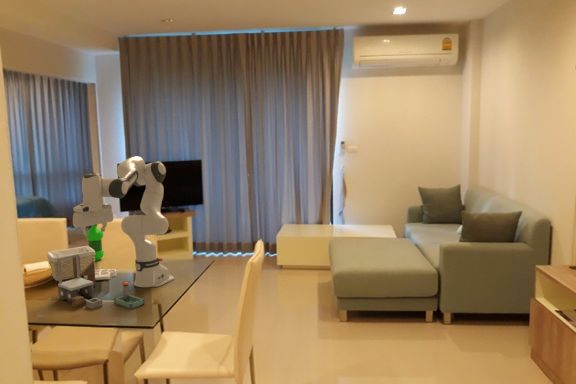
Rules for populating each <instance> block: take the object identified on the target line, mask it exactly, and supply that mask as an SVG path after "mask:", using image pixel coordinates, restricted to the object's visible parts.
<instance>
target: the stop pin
mask: <svg viewBox="0 0 576 384" xmlns="http://www.w3.org/2000/svg"><path fill="white" fill-rule="evenodd" d="M129 285H130V281H129V280H128V281H127V280H125V281H122V282H121V286H122V291H123V296H124V301H126V302H129V303H130V301H129V295H130V290H129V289H130V288H129Z"/></svg>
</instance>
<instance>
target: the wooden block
mask: <svg viewBox="0 0 576 384" xmlns="http://www.w3.org/2000/svg"><path fill="white" fill-rule="evenodd" d="M79 268H80V256H79ZM95 270H96V267H95V268H94V261H92V262H91V263H90V264H89V265H88V266H87V268H86V269H85V270H84V271H83V272H82V273H81V270H80V278H82V277H84V276H85V275H87V277H88V279H87V280H89V281H92V282H93V285H92V286H93V288H94V287H96V281H95ZM73 273H74V278H73V279H76V278H77V265H76V257H73Z"/></svg>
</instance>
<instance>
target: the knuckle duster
mask: <svg viewBox="0 0 576 384" xmlns="http://www.w3.org/2000/svg"><path fill="white" fill-rule="evenodd" d="M117 275H118V274H117V269H115V268H112V269H111V268H102V269H95V282H96V281H105V280H106V281H108V280H111V278H112V277H113V278H114V277H116V276H117ZM83 279H86V280H88V277H87V275H85V276H83Z"/></svg>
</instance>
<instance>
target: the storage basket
mask: <svg viewBox="0 0 576 384" xmlns="http://www.w3.org/2000/svg"><path fill="white" fill-rule="evenodd" d="M75 254H79V256H80V270H81V273H82V272H83V271H84V270H85V269H86V268H87V266H88V265H89V264H90V263H91V262H92V261H94V268H95V269H96V267H95V266H96V265H95V264H96V261H95V251H94V250H93V249H92V248H90V247H89V245H85V246H78V247H77V246H76V247H70V248H65V249H59V250H58V249H57V250H49V251H47V252H46V258H47V259H48V265H49V264H50V265H49V267H50V266H51V269H50V271H51V270H52V276H53V277H52V276H51V277H52V278H53V279H54V280H55V281H56V282H59V275H58V261H57V259H58V258H62V257H66V256H71V255H75ZM60 261H61V276H62V281H64V280H65V281H66V280H72V279H74V273H73V258H68V259H64V260H60Z"/></svg>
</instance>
